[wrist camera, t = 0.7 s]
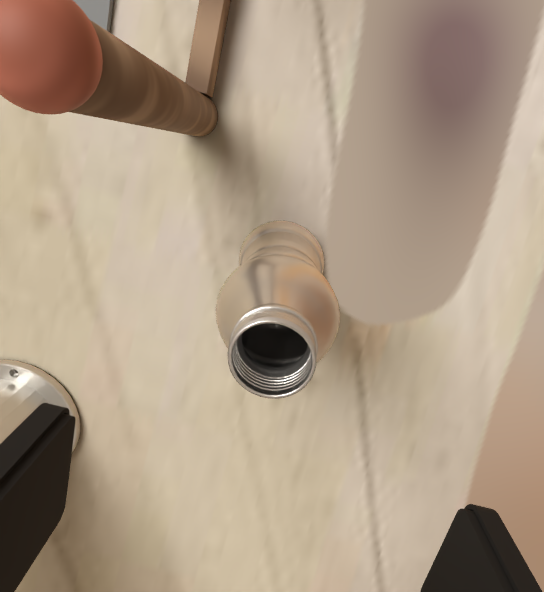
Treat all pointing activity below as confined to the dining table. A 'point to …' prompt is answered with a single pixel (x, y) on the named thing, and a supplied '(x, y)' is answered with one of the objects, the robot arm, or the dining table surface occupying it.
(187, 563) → the dining table surface
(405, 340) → the dining table surface
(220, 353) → the dining table surface
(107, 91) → the brown piece
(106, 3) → the mat
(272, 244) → the silver metal bottle
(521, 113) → the dining table surface
